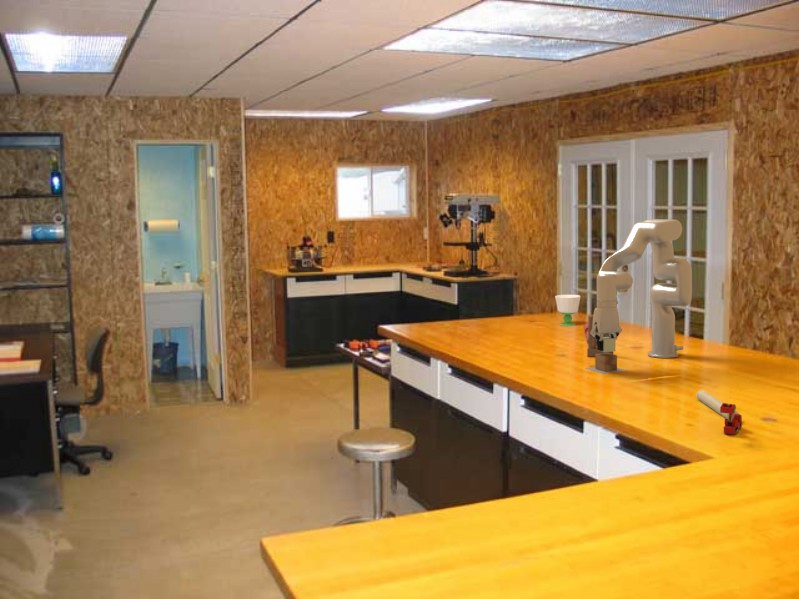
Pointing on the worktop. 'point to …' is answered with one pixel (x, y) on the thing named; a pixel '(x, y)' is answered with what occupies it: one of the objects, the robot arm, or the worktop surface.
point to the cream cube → (608, 344)
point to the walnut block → (606, 362)
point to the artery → (586, 331)
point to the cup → (567, 307)
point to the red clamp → (731, 419)
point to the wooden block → (593, 340)
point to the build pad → (605, 371)
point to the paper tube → (711, 402)
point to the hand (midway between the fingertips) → (606, 349)
